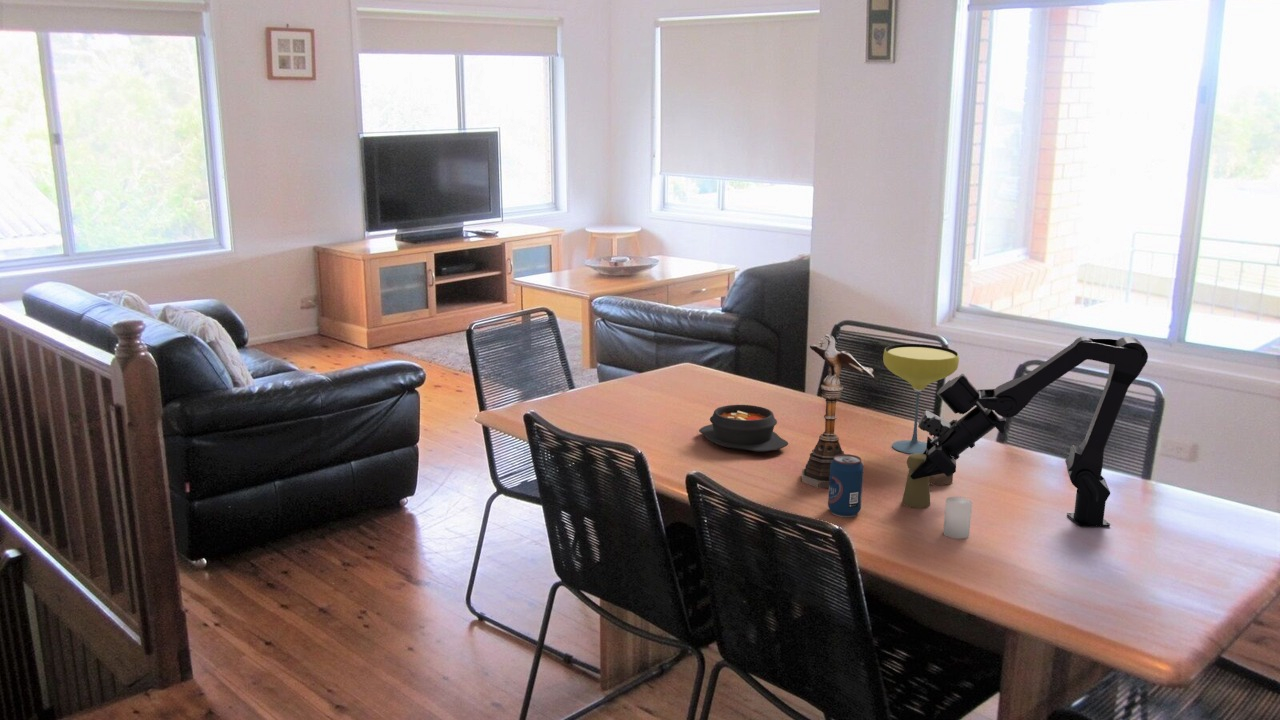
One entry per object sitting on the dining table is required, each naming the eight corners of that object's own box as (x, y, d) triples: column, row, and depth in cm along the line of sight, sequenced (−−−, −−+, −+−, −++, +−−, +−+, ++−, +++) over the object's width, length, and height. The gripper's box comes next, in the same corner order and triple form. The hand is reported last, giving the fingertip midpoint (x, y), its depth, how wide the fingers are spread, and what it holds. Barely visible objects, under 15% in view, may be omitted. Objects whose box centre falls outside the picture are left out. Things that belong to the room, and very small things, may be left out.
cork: (931, 509, 226) (935, 460, 223) (902, 506, 227) (905, 458, 225) (929, 499, 232) (933, 451, 229) (901, 497, 233) (904, 449, 230)
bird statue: (831, 462, 255) (839, 320, 247) (875, 476, 246) (885, 329, 237) (785, 476, 245) (792, 328, 237) (829, 492, 235) (837, 338, 227)
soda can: (821, 508, 226) (824, 455, 223) (849, 504, 228) (852, 451, 225) (838, 520, 219) (841, 465, 217) (867, 516, 222) (870, 461, 219)
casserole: (804, 449, 265) (805, 416, 263) (752, 464, 254) (753, 430, 252) (733, 425, 284) (734, 395, 282) (682, 438, 272) (683, 407, 270)
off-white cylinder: (972, 538, 211) (975, 505, 209) (948, 538, 211) (950, 505, 209) (964, 529, 216) (966, 496, 214) (939, 529, 215) (942, 496, 214)
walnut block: (952, 483, 242) (954, 462, 241) (934, 486, 240) (936, 465, 239) (938, 476, 247) (940, 456, 246) (920, 479, 245) (922, 458, 244)
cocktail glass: (876, 455, 260) (883, 357, 255) (878, 434, 278) (884, 341, 272) (952, 462, 256) (961, 362, 250) (949, 440, 273) (957, 346, 268)
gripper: (943, 390, 232) (888, 433, 237) (943, 413, 214) (884, 459, 220) (977, 427, 232) (921, 470, 237) (980, 453, 214) (920, 499, 220)
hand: (911, 473), depth 228 cm, fingers closed on cork, 5 cm apart
